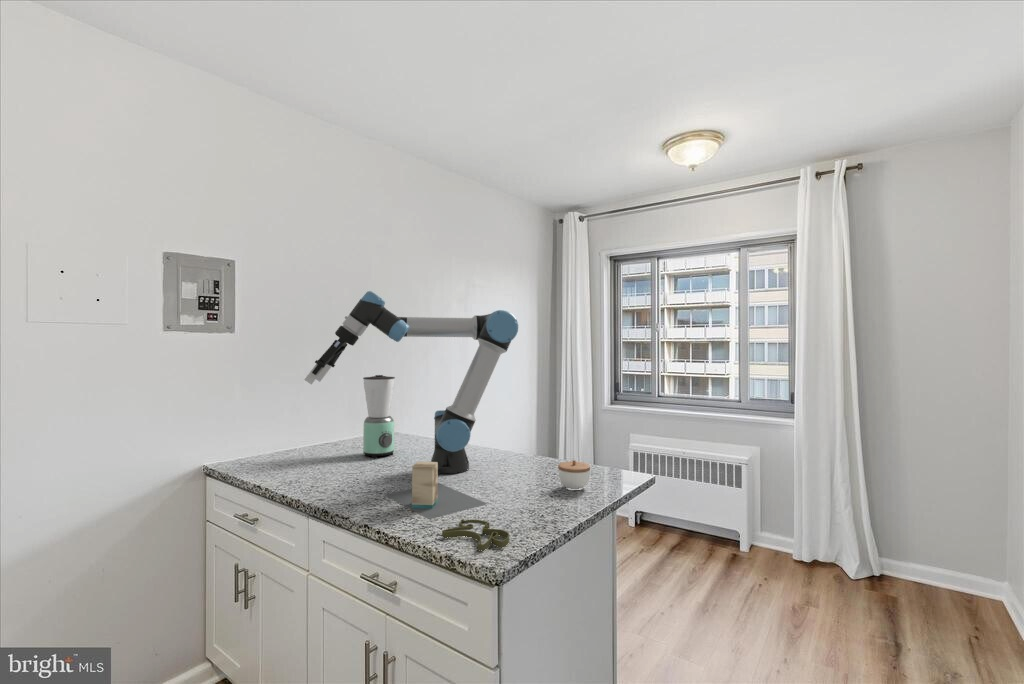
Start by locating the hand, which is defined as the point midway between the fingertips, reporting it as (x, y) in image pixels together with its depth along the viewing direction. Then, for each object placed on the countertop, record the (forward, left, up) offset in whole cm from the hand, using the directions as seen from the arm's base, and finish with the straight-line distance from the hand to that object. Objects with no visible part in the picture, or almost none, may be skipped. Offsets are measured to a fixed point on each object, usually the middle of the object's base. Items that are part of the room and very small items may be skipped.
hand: (312, 380), depth 165 cm
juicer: (-37, -30, -36) cm, 60 cm away
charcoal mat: (-23, +42, -36) cm, 60 cm away
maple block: (-18, +45, -35) cm, 60 cm away
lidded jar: (-67, +59, -36) cm, 96 cm away
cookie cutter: (-18, +72, -37) cm, 83 cm away
